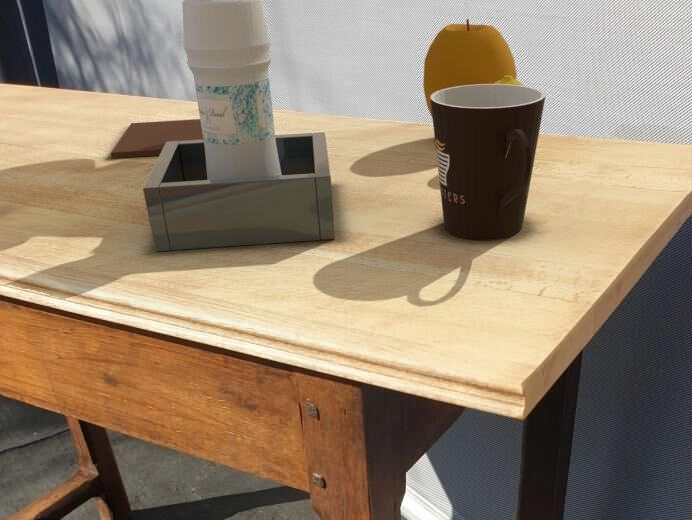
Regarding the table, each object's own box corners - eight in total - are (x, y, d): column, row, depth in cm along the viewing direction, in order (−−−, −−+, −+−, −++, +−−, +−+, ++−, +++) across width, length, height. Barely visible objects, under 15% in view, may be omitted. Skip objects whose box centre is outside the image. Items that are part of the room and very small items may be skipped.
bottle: (195, 218, 73) (150, -51, 61) (256, 199, 76) (224, -58, 65) (242, 235, 69) (203, -50, 57) (304, 214, 72) (278, -57, 61)
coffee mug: (437, 208, 72) (437, 84, 67) (537, 210, 71) (546, 83, 65) (418, 257, 63) (417, 118, 57) (534, 261, 62) (544, 118, 56)
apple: (524, 131, 93) (531, 13, 86) (493, 153, 86) (497, 26, 80) (444, 125, 97) (445, 11, 90) (408, 145, 90) (406, 24, 83)
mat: (111, 158, 91) (110, 152, 90) (132, 128, 102) (131, 123, 102) (240, 150, 91) (239, 144, 91) (246, 121, 103) (245, 116, 102)
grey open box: (155, 251, 66) (142, 188, 63) (176, 197, 78) (166, 141, 75) (335, 239, 67) (330, 176, 64) (329, 187, 79) (325, 131, 76)
